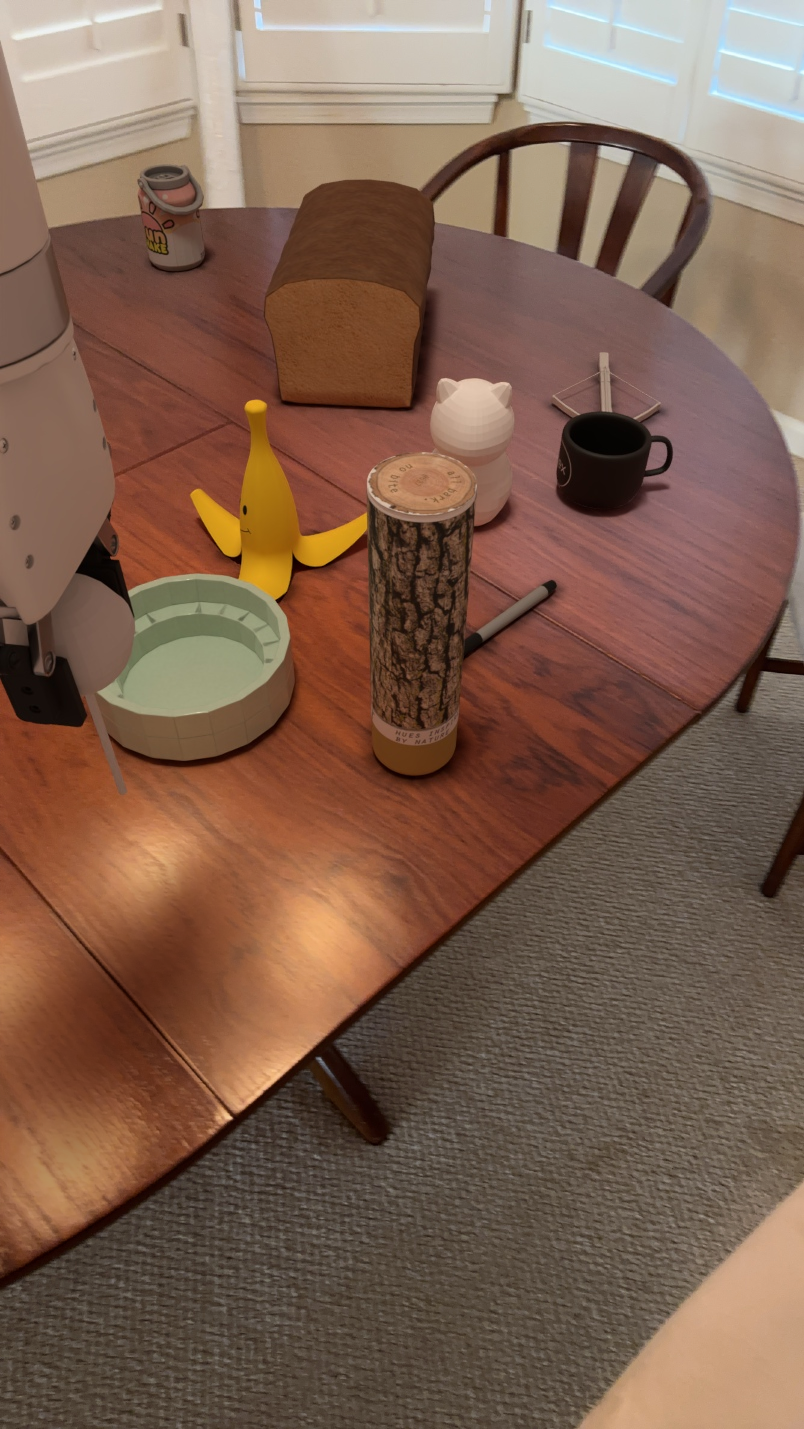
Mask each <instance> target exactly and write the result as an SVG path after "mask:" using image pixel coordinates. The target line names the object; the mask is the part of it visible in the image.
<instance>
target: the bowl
mask: <svg viewBox="0 0 804 1429" xmlns="http://www.w3.org/2000/svg"><path fill="white" fill-rule="evenodd" d="M128 594H129V598H130V601H131V605H132V609H133V612H134V617H135V618H134V620H135V634H134V640H133V647H132V652H131V656H130V658H129V660H128V662H127V664H126V666H125V668H124V670H123V671H122V673H121V674H120V675H119V676H118V677H117V678H116V679H115V680H114V681H113V682H112V683H111V684H110V685H108V686H107V687H105V688H104V689H102V690H100V691H98V692H96V693H94V695H95V698H96V701H97V704H98V707H99V710H100V713H101V716H102V719H103V721H104V724H105V727H106V730H107V733H108V736H110V737H112V739H114V740H115V741H116V742H118V743H119V744H120V746H122V747H124V748H126V749H128V750H131V751H133V752H135V753H139V754H141V755H144V756H146V757H149V758H152V759H160V760H171V761H180V762H183V761H184V762H185V761H186V762H187V761H195V760H200V759H207V758H215V757H218V756H221V755H223V754H226V753H230V752H231V751H233V750H236V749H238V748H241V747H244V746H246V745H249V744H250V743H252V742H253V741H254V740H256V739H257V738H259V737H260V736H261V735H262V734H264V733H265V732H267V731H268V730H270V729H271V728H273V726H274V725H275V724H276V723H277V721H278V720H279V718H280V717H281V716H282V714H283V713H284V712H285V710H287V708H288V706H289V704H290V701H291V698H292V694H293V691H294V688H295V684H296V678H295V669H294V668H295V667H294V657H293V651H292V650H293V649H292V639H291V633H290V628H289V623H288V622H289V621H288V616H287V615H286V614H285V612H284V610H283V609H282V608H281V607H280V605H279V604H278V603H277V601H276V600H274V598H273V597H271V596H270V595H268V594H267V593H265V592H264V591H262V590H261V589H259V588H258V587H256V586H255V585H253V584H251V583H248V582H245V581H242V580H239V578H235V577H234V576H233V577H232V576H230V575H225V574H224V575H222V574H212V573H211V574H210V573H197V572H196V573H187V574H179V575H170V576H164V577H160V578H157V579H155V580H151V581H147V582H145V583H142V584H139V585H136V586H134V587H132V588H130V589H129V590H128Z"/></svg>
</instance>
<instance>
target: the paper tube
mask: <svg viewBox="0 0 804 1429" xmlns="http://www.w3.org/2000/svg"><path fill="white" fill-rule="evenodd" d="M476 496H477V481H476V478H475V476H474V474H473V472H472V471H471V470H470V469H469V468H468V467H467V466H466V465H464V464H463V463H461V462H460V461H458V460H456V459H453V458H451V457H448V456H445V455H441V454H435V453H432V452H425V451H423V452H422V451H419V452H418V451H417V452H405V453H401V454H397V455H394V456H393V455H392V456H390V457H387V458H386V459H383V460H382V461H381V462H378V464H376V465H375V466H374V467H373V468H372V469H371V470H370V472H369V473H368V476H367V479H366V512H367V530H366V531H367V532H366V533H367V536H366V537H367V578H368V579H367V580H368V582H367V583H368V628H369V630H368V631H369V632H368V634H369V676H370V677H369V680H370V682H369V683H370V717H371V718H370V719H371V746H372V750H373V753H374V755H375V757H376V758H377V759H378V761H379V762H380V763H381V764H382V765H384V766H385V767H386V768H388V769H389V770H391V771H393V772H395V773H398V774H401V775H403V776H404V775H405V776H425V775H428V774H431V773H434V772H436V771H438V770H440V769H441V768H443V767H444V766H445V765H446V764H448V762H450V760H451V759H452V757H453V755H454V753H455V750H456V747H457V737H458V726H459V725H458V724H459V717H460V716H459V714H460V704H461V691H462V690H461V689H462V679H463V666H464V656H463V655H464V643H465V639H466V628H467V619H468V618H467V616H468V603H469V595H470V594H469V593H470V580H471V568H472V557H473V543H474V533H475V532H474V531H475V526H474V521H475V508H476Z"/></svg>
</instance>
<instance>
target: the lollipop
mask: <svg viewBox="0 0 804 1429" xmlns="http://www.w3.org/2000/svg"><path fill="white" fill-rule="evenodd" d="M51 617H52V626H53V635H54V644H55V653H56V656H60V657H64V658H67V660H68V663H69V665H70V668H71V671H72V674H73V677H74V679H75V682H76V685H77V688H78V691H79V693H80V696H81V698H82V697H85V698H84V699H85V701H86V704H87V706H88V709H89V712H90V715H91V717H92V720H93V724H94V727H95V729H96V732H97V735H98V738H99V740H100V743H101V746H102V749H103V752H104V755H105V757H106V760H107V763H108V766H109V769H110V772H111V774H112V777H113V781H114V783H115V786H116V788H117V791H118V794H119V795H120V796H124V795H126V794H128V789H127V786H126V784H125V779H124V778H123V774H122V771H121V769H120V768H121V767H120V765H119V763H118V760H117V757H116V754H115V751H114V748H113V745H112V743H111V742H112V741H111V738H110V737H109V736H110V735H109V734H108V733H107V730H106V727H105V724H104V721H103V719H102V716H101V713H100V710H99V707H98V704H97V701H96V698H95V695H94V693H96V692H98V691H100V690H102V689H104V688H105V687H107V686H108V685H110V684H111V683H112V682H113V681H114V680H115V679H116V678H117V677H118V676H119V675H120V674H121V673H122V671H123V670H124V668H125V666H126V664H127V662H128V660H129V658H130V656H131V652H132V647H133V640H134V634H135V620H134V617H133V615H132V613H131V610H130V608H129V605H128V604H127V603H126V601H125V600H124V599H123V598H122V597H120V596H119V595H118V594H116V593H115V592H114V591H112V590H111V589H110V588H108V587H107V586H106V585H104V584H103V583H102V582H100V581H98V580H96V579H93V578H91V577H88V576H86V575H82V574H78V573H75V574H74V575H73V577H72V579H71V581H70V582H69V584H68V585H67V587H66V589H65V590H64V592H63V594H62V595H61V597H60V599H59V600H58V602H57V603H56V605H55V606H54V607H53V609H52V610H51ZM2 620H3V627H4V635H5V642H6V644H15V645H25V646H29V642H28V634H27V626H26V624H25V623H24V622H23V621H22V620H12V619H2Z"/></svg>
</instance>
